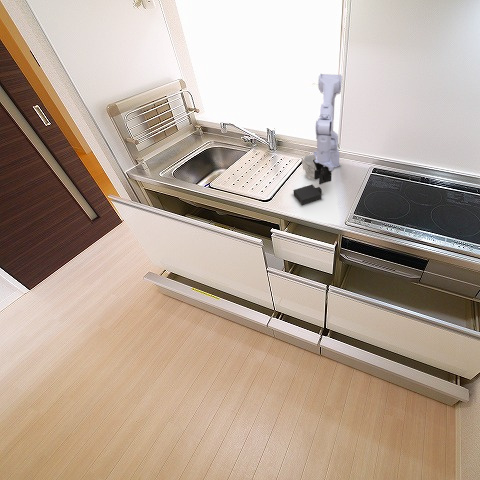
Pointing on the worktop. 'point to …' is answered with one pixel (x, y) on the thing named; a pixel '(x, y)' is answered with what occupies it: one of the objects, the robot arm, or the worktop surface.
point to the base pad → (308, 194)
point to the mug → (309, 166)
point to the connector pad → (321, 176)
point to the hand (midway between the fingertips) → (322, 177)
